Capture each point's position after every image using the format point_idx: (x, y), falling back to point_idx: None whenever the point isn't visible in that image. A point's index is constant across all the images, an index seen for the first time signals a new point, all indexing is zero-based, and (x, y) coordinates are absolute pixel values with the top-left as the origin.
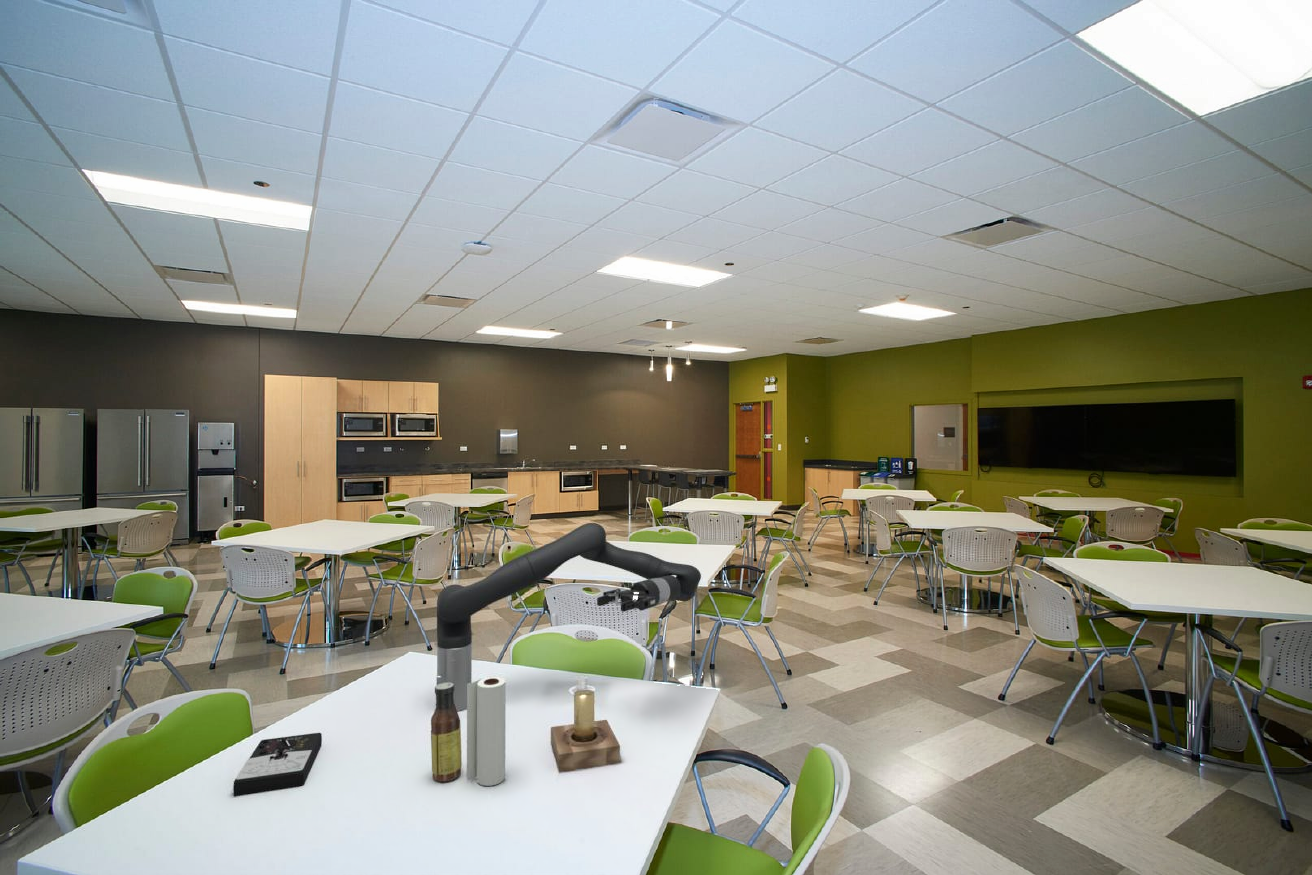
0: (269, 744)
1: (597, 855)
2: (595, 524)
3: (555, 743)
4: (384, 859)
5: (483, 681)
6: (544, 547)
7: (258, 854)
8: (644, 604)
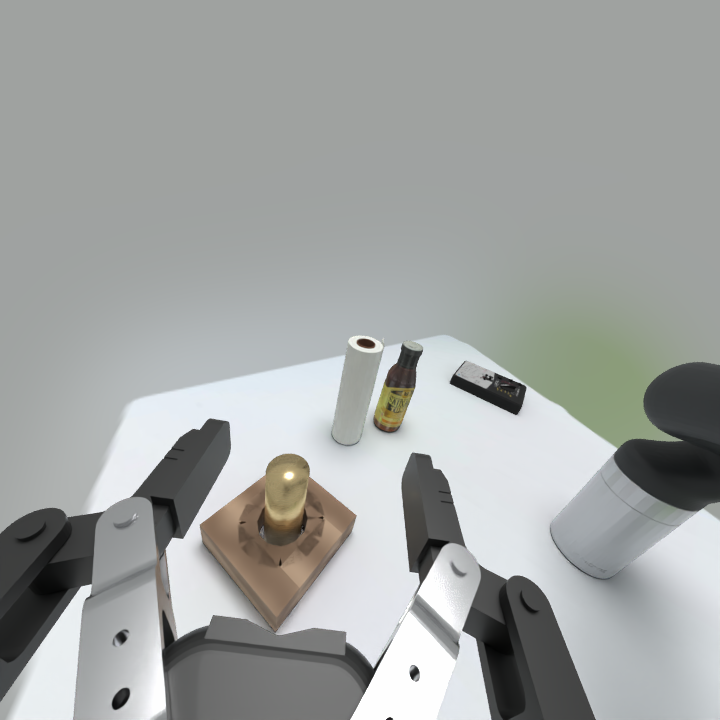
0: (513, 384)
1: (176, 397)
2: None
3: (312, 479)
4: (327, 361)
5: (375, 343)
6: None
7: (388, 350)
8: (1, 659)
